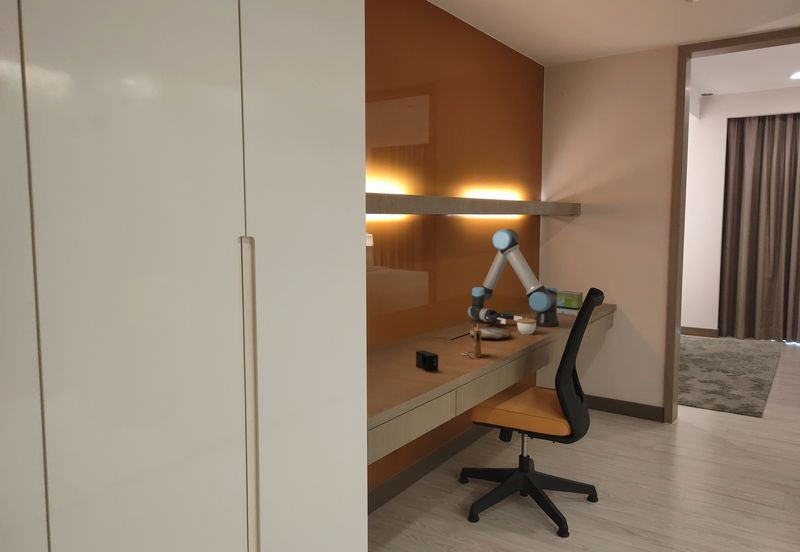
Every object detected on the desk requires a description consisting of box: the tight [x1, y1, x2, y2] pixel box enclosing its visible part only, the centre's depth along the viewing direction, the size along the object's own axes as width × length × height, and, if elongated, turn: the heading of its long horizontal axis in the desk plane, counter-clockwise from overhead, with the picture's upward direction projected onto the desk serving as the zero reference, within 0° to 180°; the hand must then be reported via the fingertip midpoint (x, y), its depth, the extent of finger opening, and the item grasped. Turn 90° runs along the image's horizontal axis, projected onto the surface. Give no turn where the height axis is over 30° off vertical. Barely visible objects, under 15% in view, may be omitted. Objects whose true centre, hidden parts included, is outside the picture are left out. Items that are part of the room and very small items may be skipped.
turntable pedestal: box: [481, 337, 499, 340], centre depth 334 cm, size 10×10×1 cm
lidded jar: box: [516, 316, 537, 336], centre depth 344 cm, size 11×11×9 cm
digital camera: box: [415, 349, 439, 372], centre depth 267 cm, size 10×5×7 cm, turn 35°
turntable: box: [469, 326, 512, 339], centre depth 334 cm, size 22×22×2 cm
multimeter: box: [461, 314, 482, 360], centre depth 290 cm, size 15×10×20 cm
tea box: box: [557, 290, 584, 316], centre depth 413 cm, size 15×10×15 cm
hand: (514, 320), depth 352 cm, fingers open, 13 cm apart
